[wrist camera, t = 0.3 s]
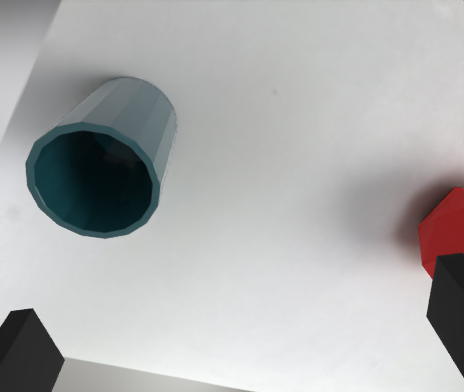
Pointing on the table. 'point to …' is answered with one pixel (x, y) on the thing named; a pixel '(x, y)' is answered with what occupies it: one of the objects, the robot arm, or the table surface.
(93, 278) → the table surface
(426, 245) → the apple
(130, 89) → the cup
